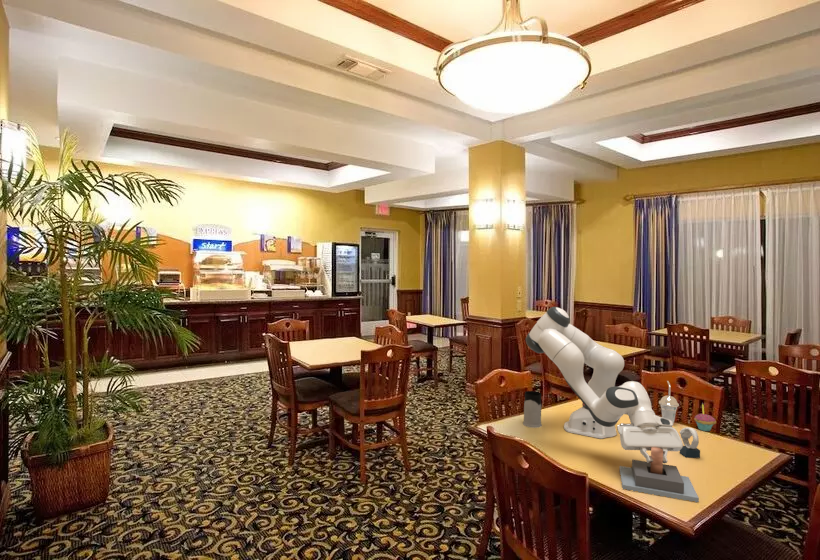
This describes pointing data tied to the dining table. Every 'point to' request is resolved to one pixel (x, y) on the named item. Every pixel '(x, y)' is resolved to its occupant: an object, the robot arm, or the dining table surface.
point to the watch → (688, 449)
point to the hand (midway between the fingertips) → (657, 462)
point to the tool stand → (657, 481)
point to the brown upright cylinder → (657, 460)
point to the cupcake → (704, 421)
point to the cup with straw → (668, 406)
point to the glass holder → (532, 409)
